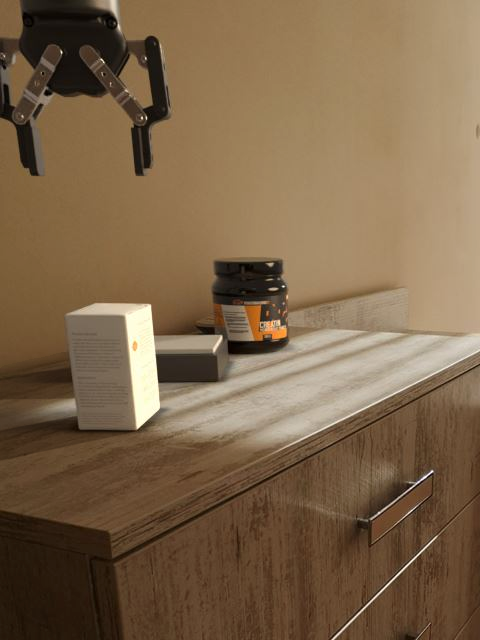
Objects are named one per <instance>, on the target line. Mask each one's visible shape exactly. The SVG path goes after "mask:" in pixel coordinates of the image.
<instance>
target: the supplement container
mask: <svg viewBox="0 0 480 640" xmlns="http://www.w3.org/2000/svg"><path fill="white" fill-rule="evenodd" d="M212 268H213V269H212V270H213V275H214V276H215V280H214V281H213V282H212V283H211V285H210V293H211V295H212V308H213V324H214V335H222V338H227V346H228V353H233V354H234V353H236V354H261V353H271V352H278V351H281V350H283V349H285V348H286V347H288V345H289V344H290V341H291V335H290V320H289V293H288V292H289V284H288V283H287V282H286V280H285V279H284V277H283V275H284V274H285V261H284V259H283V258H280V257H267V256H237V257H235V256H234V257H221V258H215V259H214V260H213V261H212Z"/></svg>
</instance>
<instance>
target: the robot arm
mask: <svg viewBox="0 0 480 640" xmlns="http://www.w3.org/2000/svg"><path fill="white" fill-rule="evenodd" d="M120 5H121V4H120V0H19V7H20V14H21V22H22V28H21V33H20V35H19V37H9V36H0V119H3V120H5V121H8V122H10V123H11V124H12V125H13V126H14V128H15V132H16V139H17V147H18V154H19V160H20V164H21V165H22V167H23V169H28V172H29V175H30V176H31V177H45V175H46V170H45V163H44V162H45V161H44V155H43V146H42V139H41V131H40V130H41V129H40V128H38V127H36V123H37V121H38V119H39V118H40V117H41V114H42V113H43V111H44V109H45V108H46V107H47V106H49V104H50V103H51V101H52V99H53V97H54V96H55V94H56V95H59V96H60V97H62V98H76V97H80V96H86V97H90V98H96V99H97V98H101V99H102V98H104V96H106V95H107V94H109V95H110V96H111V97H112V99H113V100H114V101H115V103H117V104H118V105H119V106H120V107H121V109H122V110H123V111H124V112H125V115H127V116H128V118H129V119H130V120H131V122H132V124H133V126H132V127H130V133H131V134H130V135H131V145H132V156H133V157H132V158H133V167H134V175H135V177H147V176H148V170H152V169H153V166H154V165H155V160H154V149H153V148H154V147H153V136H152V130H153V127H154V126H155V125H157V124H159V123H161V122H164V121H168V120H170V119H171V118H172V115H173V109H172V103H171V95H170V87H169V78H168V73H167V71H168V70H167V65H166V64H167V63H166V58H165V49H164V45H163V44H162V43H161V42H160V40H159V39H158V38H157V37H156V36H154V35H148V36H146V37H145V39H134V40H133V39H130V40H127V38H126V35H125V34H124V31H123V27H122V17H121V16H122V15H121V6H120ZM20 54H21V55H22V56H23V58H24V59H25V60H26V62H27V63H28V64H29V65H30V67H31V68H32V69H33V70H34V71H33V73H32V74H31V76H30V77H29V79H28V81H27V83H26V84H25V87H24V88H23V93H22V95H21V97H20V99H19V100H18V102H17V103H16V106H14V105H13V102H12V91H11V89H12V88H11V80H10V79H11V78H10V76H11V75H10V68H13V67H14V66H15V65H16V62H17V57H18V55H20ZM131 56H133V57H135V58H136V60H137V64H138V65H139V66H140V67H141V68H142V69H143V70H144V71H147V73H148V81H149V87H150V94H151V103H152V104H151V105H149V106H146V107H143V106H142V105H141V103H140V101H138V100H137V98H136V97H135V95H134V94H133V93H132V91H131V90H130V89H129V88H128V86H127V85H126V84H125V82H124V81H123V80H122V79H121V77H120V75H121V74H122V72H123V70H124V68H125V67H126V65H127V63H128V61H129V60H130V57H131Z"/></svg>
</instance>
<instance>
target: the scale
mask: <svg viewBox="0 0 480 640" xmlns="http://www.w3.org/2000/svg"><path fill="white" fill-rule="evenodd" d="M154 345H155V356H156V367H157V379H158V383H173V382H174V383H175V382H176V383H177V382H179V383H180V382H181V383H182V382H183V383H184V382H185V383H186V382H188V383H189V382H219V381H220V379H221V378H222V375H223V373H224V371H225V369H226V367H227V365H228V363H229V352H228V346H227V338H222V335H215V334H186V335H185V334H184V335H183V334H178V335H177V334H176V335H171V334H169V335H154Z"/></svg>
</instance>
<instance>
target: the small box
mask: <svg viewBox="0 0 480 640" xmlns="http://www.w3.org/2000/svg"><path fill="white" fill-rule="evenodd" d="M63 318H64V327H65V334H66V341H67V348H68V349H67V350H68V357H69V364H70V373H71V379H72V388H73V394H74V402H75V408H76V409H75V410H76V416H77V425H78V430H80V431H137V430H138V429H139V428H141V426H143V425H144V424H145V423H146V422H147V421H148V420H149V419H150V418H151V417H152V416H154V415H155V414H156V413H157V412H158V411H159V410H160V408H161V404H160V403H161V402H160V393H159V382H158V379H157V367H156V356H155V345H154V336H155V335H154V325H153V314H152V304H150V303H119V302H117V303H116V302H114V303H113V302H112V303H111V302H110V303H109V302H103V303H102V302H93V303H92V304H89V305H87V306H84V307H82V308H78V309H76V310H73V311H70V312H67V313H66V314H64V315H63Z"/></svg>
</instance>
